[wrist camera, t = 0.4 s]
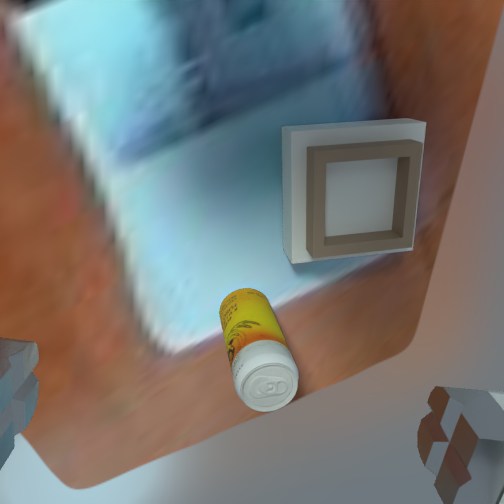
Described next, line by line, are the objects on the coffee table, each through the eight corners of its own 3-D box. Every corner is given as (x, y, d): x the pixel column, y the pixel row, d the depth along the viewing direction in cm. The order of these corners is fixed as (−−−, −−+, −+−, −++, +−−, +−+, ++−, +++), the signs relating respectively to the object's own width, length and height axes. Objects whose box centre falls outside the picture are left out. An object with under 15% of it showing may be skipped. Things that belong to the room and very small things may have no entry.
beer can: (220, 284, 53) (239, 361, 39) (270, 285, 54) (306, 359, 41) (217, 329, 55) (234, 417, 42) (265, 328, 56) (297, 413, 43)
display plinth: (281, 126, 47) (298, 135, 41) (407, 117, 49) (439, 125, 43) (283, 250, 53) (298, 273, 47) (396, 238, 55) (424, 259, 49)
